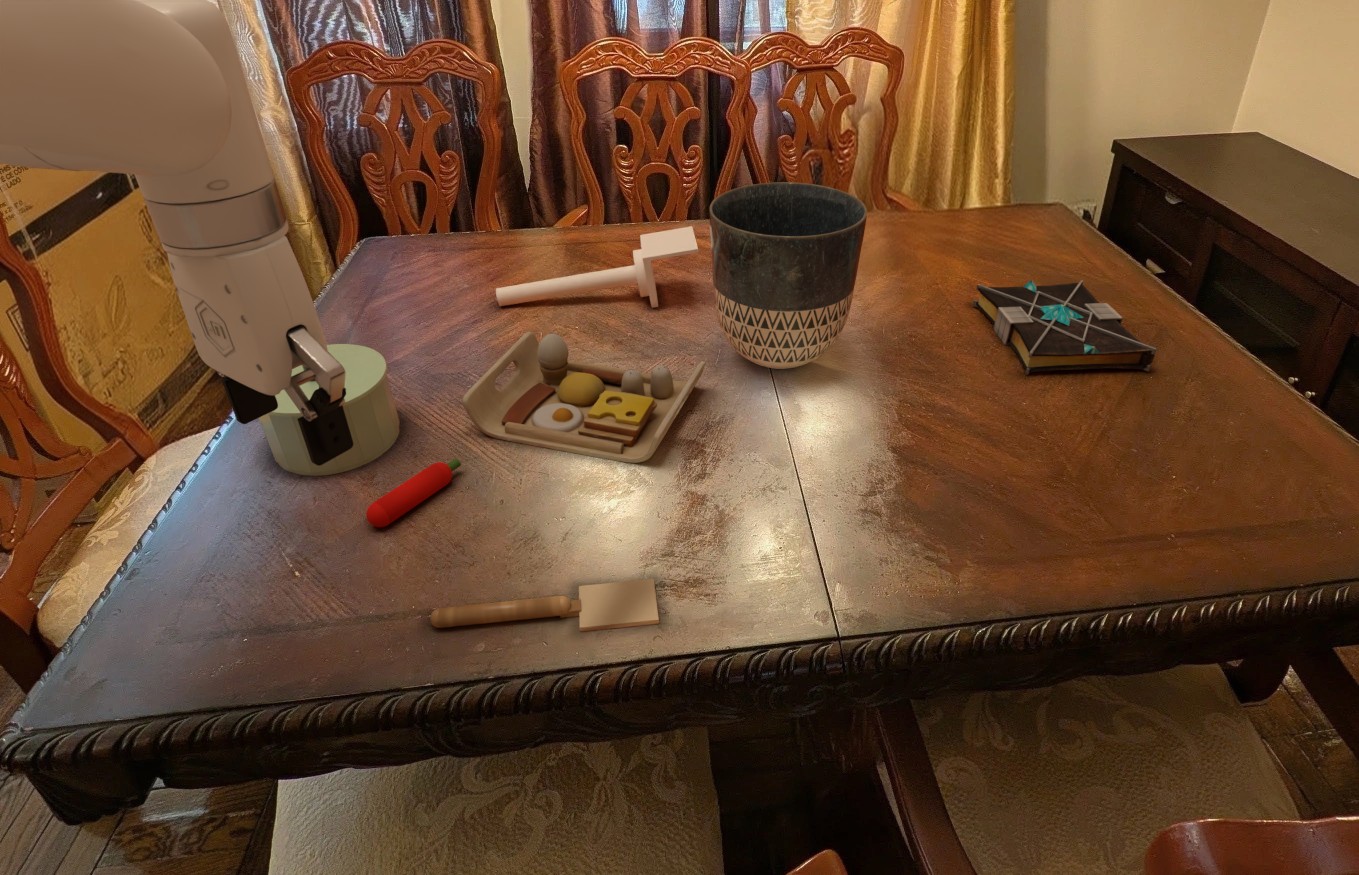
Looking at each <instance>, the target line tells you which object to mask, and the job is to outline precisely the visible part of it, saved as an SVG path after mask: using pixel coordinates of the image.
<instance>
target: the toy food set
mask: <svg viewBox="0 0 1359 875" xmlns="http://www.w3.org/2000/svg"><path fill="white" fill-rule="evenodd" d="M569 353H570V352H569V347H568V345H567V343H566V341H565V340H564V339H563V337H561V336H560V335H559V334H556V333H549V334H546V335H545V336H544V337H543V338H542V339H541V341H540V342H539V341H538V339H537V337H536V334H535V333H534V332H532V331H527V332H525V333H524V334H523V335H522V336H521V337H520V338H519V339H518V340H517V341H516V342H515V343H513V345H512V346H511V347H510V348H509V349H508V350H507V351H506V352H505V353H504V354H502V356H500V358H498V359H497V361H496V362H495V363H494V364H493V365H492V366H491V367H490V368H489V369H488V370H487V371H486V372H485V373H484V374H483V375H482V376H481V377H480V378H479V379H478V380H477V381H476V382H475V383H474V384H473V385H472V386H471V387H470V388H469V389H468V390H467V391H466V392H465V394H464V395H463V396H462V399H461V403H462V404H461V405H462V406H463V408H464V410H465V412H466V414H467V415H468V416H469V418H470V420H471V421H472V422H473V424H474V425H475V427H477V428H478V429H479V431H481V433H484V434H485V435H487V436H489V437H491V438H493V439H498V440H503V441H508V442H513V443H517V444H521V445H529V446H534V447H541V448H546V449H551V450H556V451H560V452H561V451H562V452H567V453H573V454H577V455H583V456H587V457H588V456H589V457H594V458H598V459H604V460H610V461H616V462H624V463H630V464H631V463H636V464H637V463H643V462H646V461H647V460H649V459H650V458H651V457H652V456H653V455H654V453H655V452H656V450H657V449H658V447H659V446H660V444H661V442H662V441H663V439H664V438H665V436H666V434H667V433H668V431H669V429H670V428H671V426H672V424H673V422H674V421H675V419H676V417H677V416H678V415H679V413H680V411H681V410H682V407H683V406H684V404H685V402H686V401H687V400H688V398H689V396H690V395H691V393H692V392H693V390H694V388H695V386H696V385H697V383H698V381H699V380H700V378H701V377H702V375H703V374H704V370H705V368H706V363H707V361H706V360H700V361H699V363H698V364H697V366H696V367H695V369H694V370H693V372H692V374H691V375H690V377H689V378H688V379H687V380H674V379H673V375H672V372H671V370H670V369H669V367H668V366H666V365H662V364H661V365H656V366H655V367H654V368H653V369H652V371H651V373H645V372H639V371H638V370H636V369H628V370H627V369H622V368H615V367H609V366H603V365H597V364H590V363H585V362H578V361H575V360H574V361H573V360H569V359H568V358H569V355H570V354H569ZM512 363H513V364H514V367H515V372H514V373H513V375H512V376H511V377H509V379H508V380H507V381H506V382H505V383H504V384H503V385H502V387H501V388H500V389H499V390H497V388H496V380H497V378H498V377H499V376H501V375H502V373H503V372H505V370H506V369H507V368H508V367H509V366H510V365H511V364H512Z"/></svg>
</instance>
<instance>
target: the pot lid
mask: <svg viewBox="0 0 1359 875" xmlns="http://www.w3.org/2000/svg"><path fill="white" fill-rule="evenodd" d="M326 345H327V349H328V352H329V353H330V354H331V355H332V356H333V357H334V358H335V359H336V360H337V361H338V362H339V363H340V364H341V365H342V366H343V368H344V369H345V373H346V375H345V386H344V387H345V388H346V396H345V397H344V399H345V404H344V405H343V407H344V406H347V405H349V404H352V403H354V402H356V401H358V400H360V399H361V398H363V397H365V396H367V395H368V394H369V393H371V392H372V391H373V390H375V389H376V388H377V387H378V386H379V385H380V384H381V382H382V381H383V380H384V378H385V376H386V374H387V373H388V364H387V361H386V359H385V358H384V356H383V355H382V354H381V353H380V352H378V351H377V350H375V349H373V348H371V347H368V346H364V345H361V344H360V345H359V344H354V343H353V344H352V343H333V344H331V343H330V344H326ZM307 369H309V368H308V367H305V366H303V365H300V366H298V367H296V368H294V369H292V374H291V377H292V376H294V375H296V374H298V373H300V372H303V371H305V370H307ZM300 388H301V389H302V391H303V392H304V394H305V395H306V396H307V398H308V399H309V400H310V398H311V396H312V394H313V393H314V391H315V390H317V389H319V385H318V384H317V382H316V381H315V379H313V380H311V381H309V382H306V383H304V384H302V385H300ZM275 397H276V400H277V403H278V408H277V409H276V410H274V411H272V412H270V413H268V414H269V415H275V416H283V417H298V416H303V415H302V414H301V413H300V411H299V410H298V408H297V407H296V406H295V404H294V403H293V401H292V400H291V398H290V397H289V396H288V394H287V393H286V391H285V390H284V389H283V390H281V392H280V393H279V394H277V395H275Z"/></svg>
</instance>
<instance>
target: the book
mask: <svg viewBox="0 0 1359 875" xmlns="http://www.w3.org/2000/svg"><path fill="white" fill-rule="evenodd" d="M1083 284H1084V280H1083V279H1081V280H1080V281H1079V282H1073V283H1062V284H1061V283H1059V284H1050V285H1049V284H1047V285H1036V283H1035V282H1034V280H1032V279H1031V280H1029V281H1028V282H1027V283H1026V284H1024V285H1023V286H986V285H982V284H979V283H978V284H977V285H976V291H977V292H979V293H980V294H979V300H976V299H974V300H973V302H972V306H973V307H975V308H977V309H979V310H980V311H981V312H982V314H984V315H985V317H986V318H987V319H988V320H989V321H990V322H991V323H992V325H993V328H992V329H993V330H992V331H994V333H995V334H996V335H997V336H998V338H999V339H1000V340H1001V342H1002V343H1003V344H1004V346H1010V347H1011V348H1012V349H1013V350H1014V352H1015V353H1016V355H1017V357H1018V358H1019V361H1020V362H1021V364H1022V366H1023V368H1024V370H1025V373H1024V374H1025V375H1027V376H1028V375H1029V374H1030V373H1035V372H1036V373H1037V372H1050V371H1051V372H1052V371H1064V370H1065V371H1066V370H1069V371H1071V370H1095V369H1096V370H1097V369H1099V370H1100V369H1130V370H1132V369H1137V370H1138V369H1139V370H1143V371H1145V372H1150V370H1151V367H1152V364H1153V362H1154V359H1155V354H1156V352H1157V348H1156V347H1154V346H1151V345H1148V344H1145V343H1143V342H1142V341H1141V340H1140V339H1138V338H1137V337H1136V336H1135V335H1134V334H1133V333H1131V332H1130V331H1129V330H1127V329H1126V328H1125V327H1124V325H1122V322H1123V319H1124V318H1123V316H1121V315H1120V314H1119V313H1118V312H1117V310H1115V309H1114V307H1112V306H1110V304H1109V303H1108V302H1099V301H1098V300H1097V298H1095V296H1094V295H1093V294H1092V293H1091V292H1090V291H1089V290H1088V289H1087V287H1086V286H1085V284H1084V285H1083Z"/></svg>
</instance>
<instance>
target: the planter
mask: <svg viewBox="0 0 1359 875" xmlns="http://www.w3.org/2000/svg"><path fill="white" fill-rule="evenodd" d="M867 208H868V207H867V206H866V204H865V203H864V202H863V201H862V200H861V199H860V198H858V197H856V196H855V195H853V194H850V193H849V192H847V191H843V190H841V189H839V188H833V187H831V186H825V185H821V184H820V185H819V184H814V183H808V182H807V183H805V182H792V181H791V182H790V181H784V182H782V181H780V182H779V181H778V182H777V181H776V182H763V183H756V184H749V185H743V186H740V187H736V188H733V189H730V190H728V191H725V192H723V193H721V194H719V195H718V196H717V197H715V198H714V199H713V200H712V201H711V203H710V205H709V210H708V211H709V213H708V214H709V234H710V250H711V252H710V254H711V271H712V272H711V273H712V288H713V301H714V302H713V303H714V310H715V314H716V318H717V322H718V325H719V327H720V330H721V332H722V335H723V336H724V338H725V340H726V341H727V343H728V344H729V345H730V346H731V347H732V348H733V349H734V350H735V351H736V352H737V353H738V354H739V355H741V357H743V358H745V359H746V360H747V361H749V362H752V363H754V364H755V365H758V366H761V367H765V368H769V369H776V370H786V369H794V368H798V367H801V366H804V365H806V364H809V363H811V362H813V361H815V360H817V359H818V358H819V357H821V356H822V355H824V354H825V353H827V351H828V350H830V349H831V347H833V345H834V344H835V343H836V342H837V340H838V339H839V337H840V336H841V334H842V331H843V330H844V328H845V325H846V323H847V321H848V317H849V315H850V311H851V307H852V302H853V296H854V291H855V285H856V281H857V276H858V270H859V265H860V264H859V263H860V257H861V252H862V246H863V242H864V237H865V231H866V224H867V218H868V209H867Z"/></svg>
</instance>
